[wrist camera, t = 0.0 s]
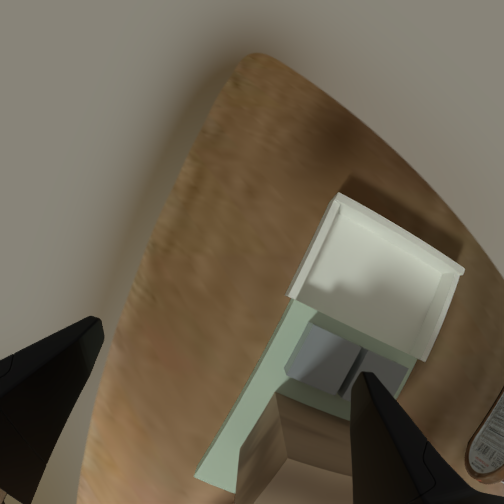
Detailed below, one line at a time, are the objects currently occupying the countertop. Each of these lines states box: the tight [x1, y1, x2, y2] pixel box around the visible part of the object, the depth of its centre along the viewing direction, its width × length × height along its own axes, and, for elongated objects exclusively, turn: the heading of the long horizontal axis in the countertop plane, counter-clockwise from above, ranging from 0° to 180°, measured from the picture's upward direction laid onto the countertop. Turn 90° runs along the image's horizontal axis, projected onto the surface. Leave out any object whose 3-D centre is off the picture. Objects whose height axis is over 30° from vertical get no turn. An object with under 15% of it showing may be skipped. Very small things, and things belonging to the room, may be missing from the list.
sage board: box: [194, 298, 418, 493], centre depth 22 cm, size 18×12×2 cm, turn 153°
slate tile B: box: [337, 345, 409, 402], centre depth 21 cm, size 4×4×2 cm
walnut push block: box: [234, 392, 353, 504], centre depth 16 cm, size 6×8×10 cm
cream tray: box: [285, 192, 465, 362], centre depth 23 cm, size 9×13×3 cm, turn 63°
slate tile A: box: [284, 321, 361, 396], centre depth 21 cm, size 4×4×2 cm
